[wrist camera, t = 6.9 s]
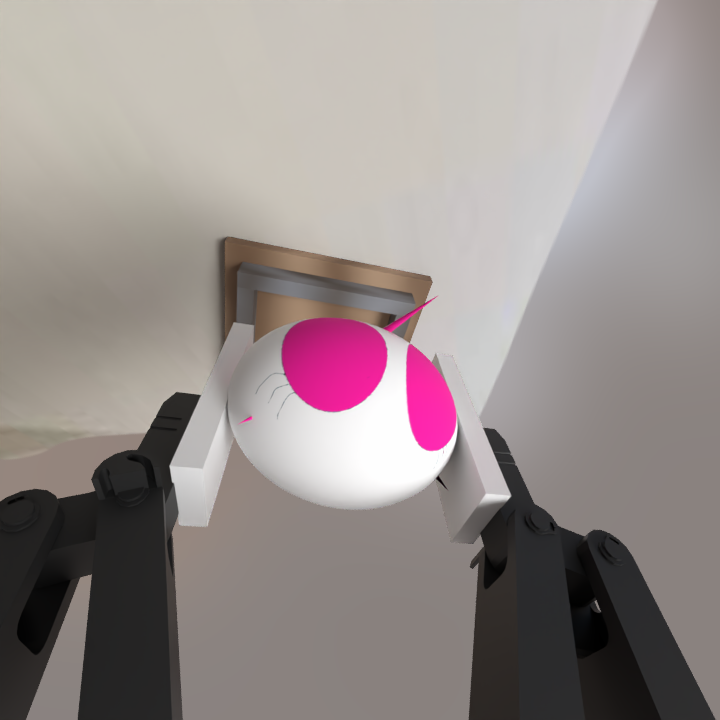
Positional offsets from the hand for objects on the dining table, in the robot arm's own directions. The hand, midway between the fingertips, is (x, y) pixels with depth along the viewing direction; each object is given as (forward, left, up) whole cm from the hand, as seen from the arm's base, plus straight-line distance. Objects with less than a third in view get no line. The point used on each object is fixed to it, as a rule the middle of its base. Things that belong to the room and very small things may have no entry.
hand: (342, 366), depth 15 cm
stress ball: (0, +2, -1) cm, 2 cm away
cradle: (0, -10, -16) cm, 18 cm away
